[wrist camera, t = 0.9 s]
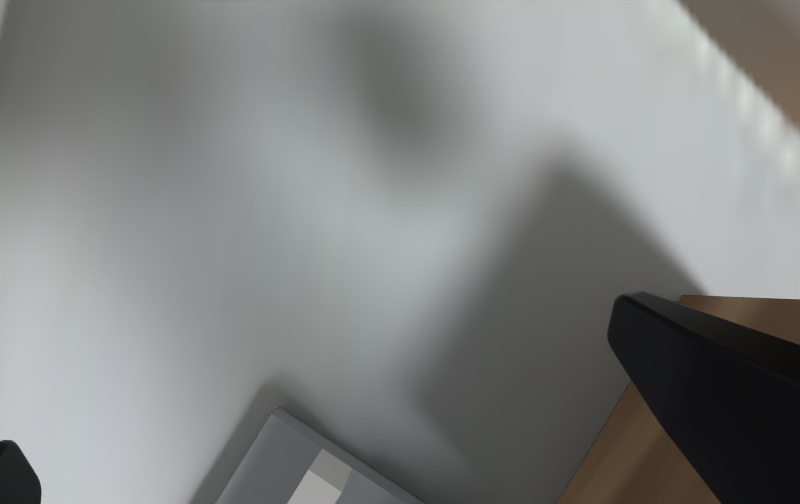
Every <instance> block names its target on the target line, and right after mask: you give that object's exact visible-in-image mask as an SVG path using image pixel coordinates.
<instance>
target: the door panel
mask: <svg viewBox="0 0 800 504" xmlns="http://www.w3.org/2000/svg"><path fill="white" fill-rule="evenodd" d="M678 303H679V304H682V305H685V306H688V307H691V308H694V309H697V310H699V311H702V312H705V313H708V314H711V315H714V316H717V317H720V318H723V319H726V320H729V321H732V322H735V323H738V324H741V325H744V326H746V327H749V328H752V329H755V330H758V331H761V332H764V333H767V334H770V335H773V336H776V337H779V338H782V339H785V340H788V341H791V342H794V343H796V344H799V345H800V300H798V299H773V298H748V297H722V296H697V295H682V297H681V299H680V300H679V302H678ZM557 504H721V503H720V502H719V501H718V499H717V498H716V497H715V495H714V494H713V493H712V492H711V490H710V489H709V488H708V486H707V485H706V484H705V483H704V481H703V480H702V479H701V477H700V476H699V475H698V473H697V472H696V471H695V470H694V468H693V467H692V466H691V464H690V463H689V462H688V460H687V459H686V458H685V457H684V455H683V454H682V453H681V451H680V450H679V449H678V448H677V446H676V445H675V444H674V442H673V441H672V440H671V438H670V437H669V436H668V435H667V433H666V432H665V430H664V429H663V428H662V426H661V425H660V424H659V422H658V421H657V419H656V418H655V416H654V415H653V413H652V412H651V410H650V409H649V407H648V406H647V404H646V403H645V401H644V399H643V398H642V396H641V395H640V393H639V391H638V390H637V388H636V387H635V385H634V384H633V382H632V380H631V381H630V383H629V385H628V386H627V388H626V390H625V391H624V393H623V395H622V396H621V398H620V400H619V401H618V403H617V405H616V406H615V408H614V410H613V411H612V413H611V415H610V416H609V418H608V420H607V421H606V423H605V424H604V426H603V428H602V429H601V431H600V433H599V434H598V436H597V438H596V439H595V441H594V443H593V444H592V446H591V448H590V449H589V451H588V453H587V454H586V456H585V458H584V459H583V461H582V463H581V464H580V466H579V468H578V469H577V471H576V472H575V474H574V476H573V477H572V479H571V481H570V482H569V484H568V486H567V487H566V489H565V491H564V492H563V494H562V496H561V497H560V499H559V501H558V502H557Z"/></svg>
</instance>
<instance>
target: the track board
mask: <svg viewBox="0 0 800 504" xmlns="http://www.w3.org/2000/svg"><path fill="white" fill-rule="evenodd" d="M215 504H425V503H423V502H422V501H420V500H419V499H417V498H416V497H414V496H413V495H411V494H410V493H408V492H407V491H405V490H404V489H402V488H401V487H399V486H398V485H396V484H395V483H393V482H392V481H390V480H389V479H387V478H386V477H384V476H383V475H381V474H380V473H378V472H377V471H375V470H374V469H372V468H371V467H369V466H368V465H366V464H365V463H363V462H362V461H360V460H359V459H357V458H356V457H354V456H353V455H351V454H350V453H348V452H347V451H345V450H343V449H342V448H340V447H339V446H337V445H336V444H334V443H333V442H331V441H330V440H328V439H327V438H325V437H324V436H322V435H321V434H319V433H318V432H316V431H315V430H313V429H312V428H310V427H309V426H307V425H306V424H304V423H303V422H301V421H300V420H298V419H297V418H295V417H294V416H292V415H291V414H289V413H288V412H286V411H285V410H283V409H282V408H280V407H279V408H278V409H277V410H275V411H274V412H273V413H272V414H271V415H270V416H269V418H268V420H267V421H266V423H265V425H264V426H263V428H262V429H261V431H260V433H259V434H258V436H257V437H256V439H255V441H254V442H253V444H252V445H251V447H250V449H249V450H248V452H247V453H246V455H245V457H244V458H243V460H242V461H241V463H240V465H239V466H238V468H237V469H236V471H235V473H234V474H233V476H232V477H231V479H230V481H229V482H228V484H227V486H226V487H225V489H224V490H223V492H222V494H221V495H220V497H219V498H218V500H217V502H216V503H215Z"/></svg>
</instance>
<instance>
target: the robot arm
mask: <svg viewBox="0 0 800 504" xmlns="http://www.w3.org/2000/svg"><path fill="white" fill-rule="evenodd" d="M607 338H608V342H609V345H610V347H611V349H612V350H613V352H614V353H615V355H616V357H617V358H618V360H619V361H620V363H621V364H622V366H623V368H624V369H625V371H626V372H627V374H628V376H629V377H630V379H631V380H632V382H633V384H634V385H635V387H636V388H637V390H638V391H639V393H640V395H641V396H642V398H643V399H644V401H645V403H646V404H647V406H648V407H649V409H650V410H651V412H652V413H653V415H654V416H655V418H656V419H657V421H658V422H659V424H660V425H661V426H662V428H663V429H664V430H665V432H666V433H667V435H668V436H669V437H670V438H671V440H672V441H673V442H674V444H675V445H676V446H677V448H678V449H679V450H680V451H681V453H682V454H683V455H684V457H685V458H686V459H687V460H688V462H689V463H690V464H691V466H692V467H693V468H694V470H695V471H696V472H697V473H698V475H699V476H700V477H701V479H702V480H703V481H704V483H705V484H706V485H707V486H708V488H709V489H710V490H711V492H712V493H713V494H714V495H715V497H716V498H717V499H718V501H719V502H720V503H721V504H800V345H799V344H796V343H794V342H791V341H788V340H785V339H782V338H779V337H776V336H773V335H770V334H767V333H764V332H761V331H758V330H755V329H752V328H749V327H746V326H744V325H741V324H738V323H735V322H732V321H729V320H726V319H723V318H720V317H717V316H714V315H711V314H708V313H705V312H702V311H699V310H697V309H694V308H691V307H688V306H685V305H682V304H679V303H676V302H673V301H670V300H667V299H664V298H661V297H658V296H655V295H652V294H650V293H647V292H643V291H635V292H631V293H627V294H622V295H620V296H618V297H617V298H616V300H615V302H614V305H613V309H612V314H611V318H610V322H609V327H608V332H607ZM0 504H41V484H40V481H39V479H38V476H37V475H36V473H35V472H34V470H33V468H32V467H31V465H30V464H29V462H28V460H27V459H26V457H25V456H24V454H23V452H22V451H21V449H20V448H19V446H18V445H17V444H16V443H15V442H14V441H11V440H2V441H0Z"/></svg>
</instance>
